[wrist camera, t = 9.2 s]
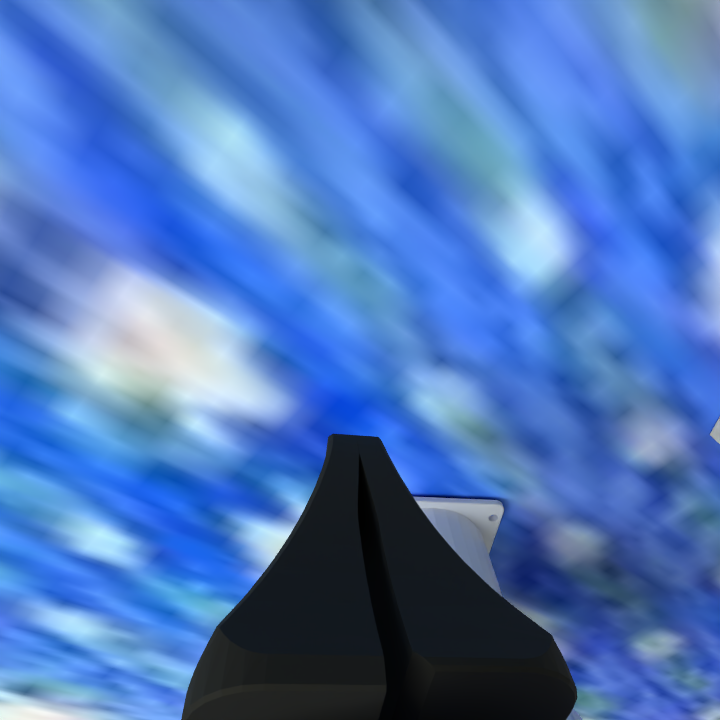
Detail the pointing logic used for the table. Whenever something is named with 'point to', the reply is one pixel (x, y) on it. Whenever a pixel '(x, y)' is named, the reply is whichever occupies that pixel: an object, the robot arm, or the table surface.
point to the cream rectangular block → (716, 431)
